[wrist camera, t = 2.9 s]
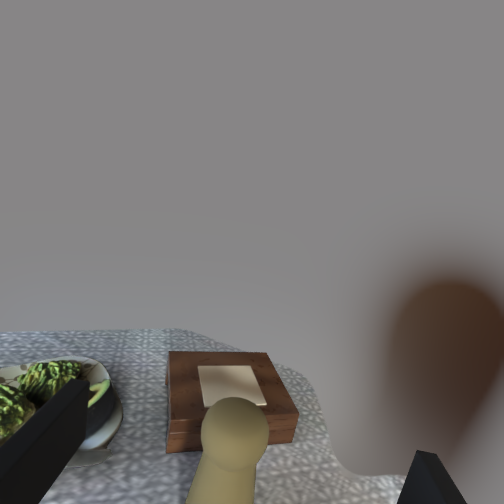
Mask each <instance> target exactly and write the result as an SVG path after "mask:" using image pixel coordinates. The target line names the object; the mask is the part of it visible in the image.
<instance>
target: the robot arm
mask: <svg viewBox="0 0 504 504" xmlns="http://www.w3.org/2000/svg"><path fill="white" fill-rule="evenodd" d="M89 390H90V382H88V381H83V380H78V379H74V378H71V379H70V380H69V381H68V382H67V383H66V384H65V385H64V386H63V387H62V388H61V389H60V390H59V391H58V392H57V393H56V394H54V395H53V396H52V397H51V398H50V399H49V400H48V401H47V402H46V403H45V404H44V405H43V406H42V407H41V408H40V409H39V410H38V411H37V412H36V413H35V414H34V415H33V416H32V417H31V418H30V419H29V420H28V421H27V422H26V423H25V424H24V425H23V426H22V427H21V428H20V429H19V430H18V431H17V432H16V433H15V434H13V435H12V436H11V437H10V438H9V439H8V440H7V441H6V442H5V443H4V444H3V445H2V446H1V447H0V504H39V502H40V501H41V500H42V498H43V497H44V495H45V494H46V493H47V491H48V490H49V489H50V487H51V486H52V484H53V483H54V482H55V480H56V479H57V477H58V476H59V475H60V473H61V472H62V471H63V469H64V468H65V466H66V465H67V464H68V462H69V461H70V460H71V458H72V457H73V455H74V454H75V453H76V451H77V450H78V448H79V447H80V446H81V444H82V443H83V442H84V440H85V436H86V424H87V413H88V401H89ZM397 504H467V503H466V501H465V500H464V498H463V496H462V495H461V493H460V492H459V490H458V489H457V487H456V485H455V484H454V482H453V480H452V479H451V477H450V475H449V474H448V472H447V471H446V469H445V467H444V466H443V464H442V463H441V461H440V459H439V458H438V456H437V455H436V454H434V453H429V452H424V451H419V450H417V451H416V454H415V456H414V459H413V462H412V465H411V467H410V470H409V472H408V475H407V478H406V480H405V483H404V486H403V488H402V491H401V493H400V496H399V499H398V501H397Z"/></svg>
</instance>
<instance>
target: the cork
mask: <svg viewBox="0 0 504 504" xmlns="http://www.w3.org/2000/svg"><path fill="white" fill-rule="evenodd" d="M268 439H269V426H268V422H267V419H266V417H265V415H264V413H263V411H262V410H261V409H260V408H259V407H258V406H257V405H256V404H255V403H253V402H251V401H249V400H247V399H244V398H240V397H228V398H223V399H221V400H219V401H217V402H216V403H215V404H214V405H213V406H211V407H210V408H209V409H208V411H207V413H206V415H205V417H204V420H203V422H202V427H201V443H202V446H203V449H204V450H203V453H202V456H201V459H200V462H199V464H198V467H197V470H196V473H195V476H194V479H193V482H192V484H191V487H190V490H189V493H188V496H187V499H186V502H185V504H253V503H254V490H255V477H256V463H257V462H258V461H259V460H260V458H261V457H262V455H263V453H264V452H265V450H266V448H267V444H268Z"/></svg>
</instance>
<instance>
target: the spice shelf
mask: <svg viewBox="0 0 504 504" xmlns="http://www.w3.org/2000/svg"><path fill="white" fill-rule="evenodd" d="M165 385H168V409H169V423H168V429H167V436H166V453H176V452H188V451H200V450H204V449H203V446H202V443H201V427H202V422H203V420H204V417H205V415H206V413H207V411H208V409H209V408H210V407H211V406H213V405H214V404H215V403H216V402H217V401H219V400H221V399H223V398H228V397H240V398H244V399H247V400H249V401H251V402H253V403H255V404H256V405H257V406H258V407H259V408H260V409H261V410H262V411H263V413H264V415H265V417H266V419H267V422H268V426H269V439H268V444H267V445H271V444H283V443H292V440H293V437H294V433H295V429H296V425H297V422H298V418H299V412H298V410H297V408H296V406H295V404H294V403H293V401H292V399H291V397H290V395H289V393H288V392H287V390H286V388H285V386H284V384H283V382H282V380H281V379H280V377H279V375H278V373H277V371H276V369H275V368H274V366H273V364H272V362H271V360H270V358H269V357H268V355H267V353H260V352H254V353H253V352H186V351H169V354H168V361H167V368H166V375H165Z"/></svg>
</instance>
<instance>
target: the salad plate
mask: <svg viewBox="0 0 504 504" xmlns="http://www.w3.org/2000/svg"><path fill="white" fill-rule="evenodd" d="M71 378H74V379H78V380H83V381H88V382H90V390H89V401H88V413H87V424H86V436H85V440H84V442H83V443H82V444H81V446H80V447H79V448H78V450H77V451H76V453H75V454H74V455H73V457H72V458H71V460H70V461H69V462H68V464H67V465H66V466H65V468H64V469H70V468H79V467H85V466H91V465H96V464H100V463H102V462H103V461H104V460H106V459H107V458H109V457H111V456H112V455H113V454H112V452H111V450H110V449H106V448H107V446H108V444H109V443H110V441H111V440H112V439H113V437H114V436H115V434H116V433H117V431H118V429H119V428H120V426H121V422H122V420H123V407H122V403H121V400H120V398H119V395H118V393H117V391H116V389H115V387H114V385H113V382H112V380H111V378H110V375H109V373H108V371H107V370H106V368H105V366H104V365H103V364H102V363H100V362H99V361H97V360H94V359H91V358H87V357H81V356H63V357H56V358H52V359H47V360H42V361H38V362H33V363H29V364H22V365H18V366H13V367H4V368H0V447H1V446H2V445H3V444H4V443H5V442H6V441H7V440H8V439H9V438H10V437H11V436H12V435H13V434H15V433H16V432H17V431H18V430H19V429H20V428H21V427H22V426H23V425H24V424H25V423H26V422H27V421H28V420H29V419H30V418H31V417H32V416H33V415H34V414H35V413H36V412H37V411H38V410H39V409H40V408H41V407H42V406H43V405H44V404H45V403H46V402H47V401H48V400H49V399H50V398H51V397H52V396H53V395H54V394H56V393H57V392H58V391H59V390H60V389H61V388H62V387H63V386H64V385H65V384H66V383H67V382H68V381H69V380H70V379H71ZM64 469H63V470H64Z"/></svg>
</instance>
